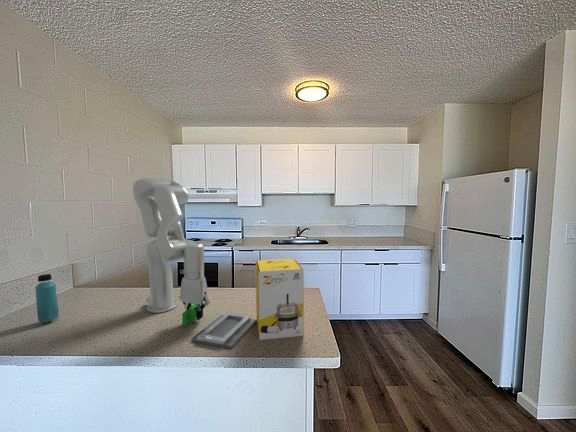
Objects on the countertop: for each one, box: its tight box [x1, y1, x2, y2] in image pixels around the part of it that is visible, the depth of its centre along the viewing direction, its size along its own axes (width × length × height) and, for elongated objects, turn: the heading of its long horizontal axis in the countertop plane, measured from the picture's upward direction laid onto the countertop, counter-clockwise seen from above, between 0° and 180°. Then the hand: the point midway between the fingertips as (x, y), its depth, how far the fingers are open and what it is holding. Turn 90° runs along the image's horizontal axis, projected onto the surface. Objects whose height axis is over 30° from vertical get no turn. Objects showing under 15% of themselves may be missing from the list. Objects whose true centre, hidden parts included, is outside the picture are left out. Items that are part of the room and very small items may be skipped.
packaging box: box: [255, 258, 304, 341], centre depth 103 cm, size 16×16×25 cm
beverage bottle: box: [34, 273, 60, 323], centre depth 109 cm, size 6×7×20 cm
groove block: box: [190, 312, 257, 350], centre depth 101 cm, size 16×20×2 cm
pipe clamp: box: [181, 304, 201, 326], centre depth 108 cm, size 11×4×5 cm, turn 169°
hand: (194, 317), depth 108 cm, fingers closed on pipe clamp, 4 cm apart
